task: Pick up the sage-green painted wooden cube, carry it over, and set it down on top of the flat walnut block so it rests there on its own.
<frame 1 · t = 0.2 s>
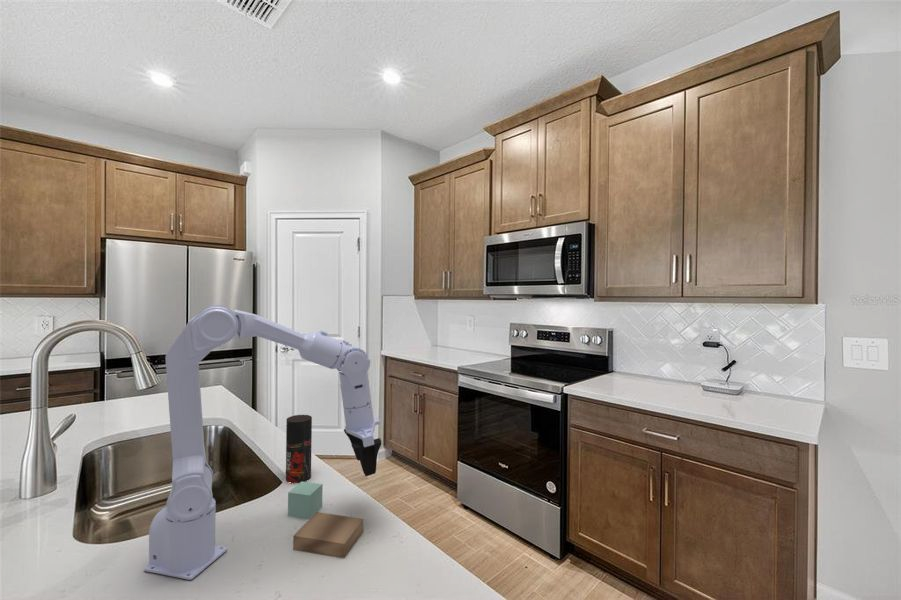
hand: (366, 466, 84), 10 cm above the worktop, tool pointing down, fingers open, 7 cm apart
walnut block: (329, 542, 76), on the worktop
deodorant: (298, 478, 100), on the worktop
sage cube: (305, 511, 86), on the worktop
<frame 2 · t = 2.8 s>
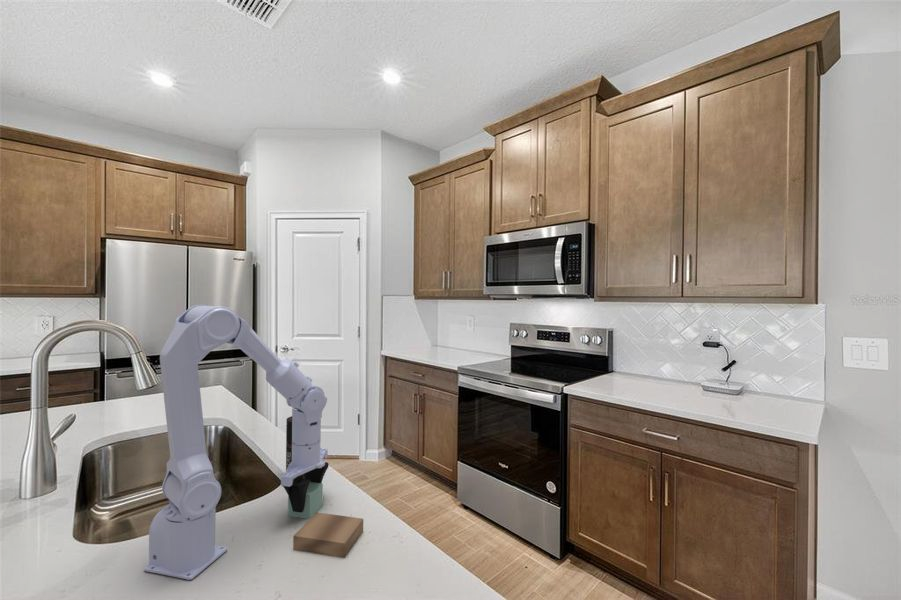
hand: (305, 504, 86), 1 cm above the worktop, tool pointing down, fingers closed on sage cube, 5 cm apart
sage cube: (305, 510, 86), on the worktop, touching gripper
everything else where it was.
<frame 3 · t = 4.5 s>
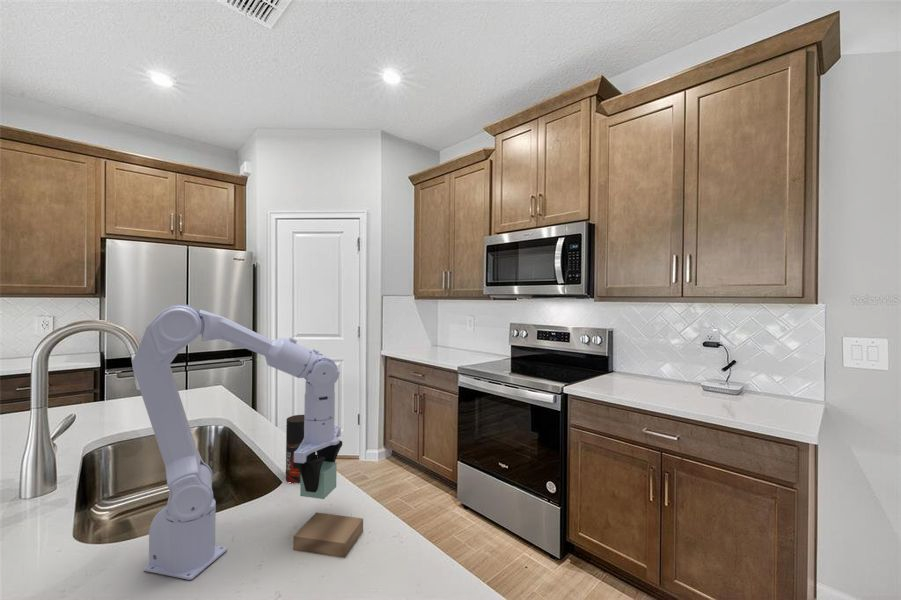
hand: (318, 484, 80), 8 cm above the worktop, tool pointing down, fingers closed on sage cube, 5 cm apart
sage cube: (318, 491, 80), point 7 cm above the worktop, touching gripper
everything else where it was.
when the fingers open (5 cm above the worktop, at t = 6.3 s): sage cube drops 1 cm, point 2 cm above the worktop.
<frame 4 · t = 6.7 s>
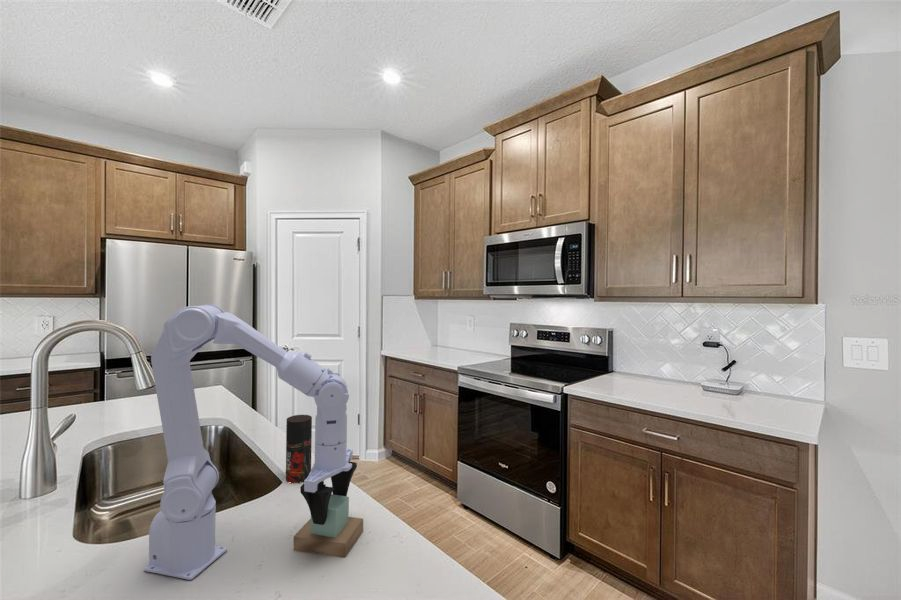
hand: (329, 511, 76), 5 cm above the worktop, tool pointing down, fingers open, 7 cm apart
sage cube: (329, 527, 75), point 2 cm above the worktop
everything else where it was.
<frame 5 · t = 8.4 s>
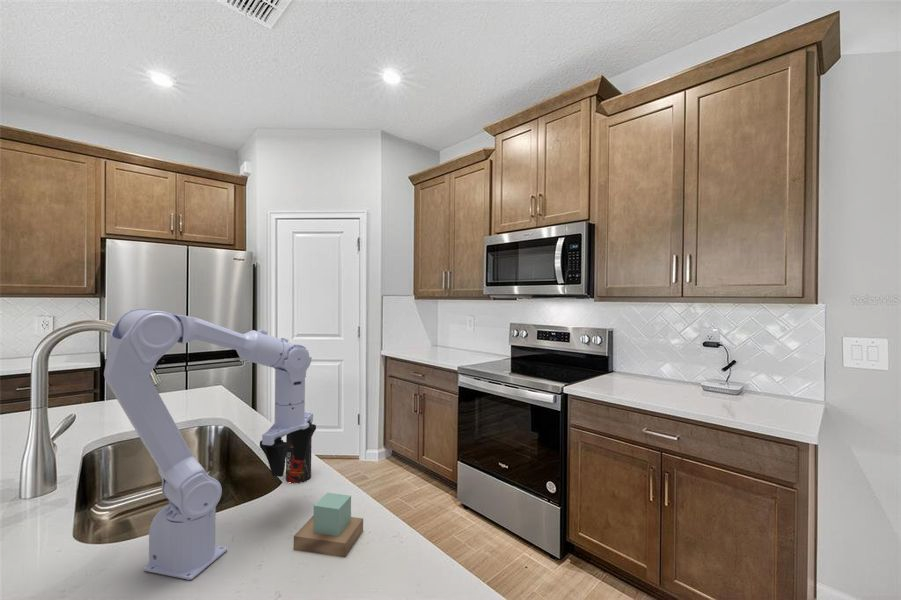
hand: (289, 467, 83), 10 cm above the worktop, tool pointing down, fingers open, 7 cm apart
walnut block: (329, 542, 76), on the worktop, touching sage cube
sage cube: (332, 526, 76), point 2 cm above the worktop, touching walnut block
everything else where it was.
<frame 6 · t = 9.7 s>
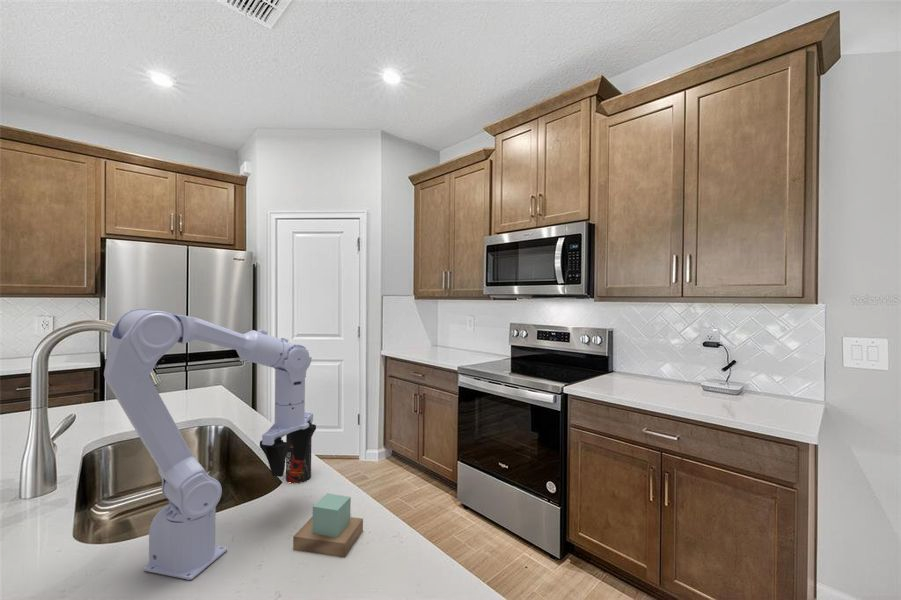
hand: (289, 467, 83), 10 cm above the worktop, tool pointing down, fingers open, 7 cm apart
nothing on the worktop moved.
at the end: sage cube 0.5 cm off-centre on the walnut block, point 3.0 cm above the walnut block's base; sage cube tilted 0°; the gripper is holding nothing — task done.
